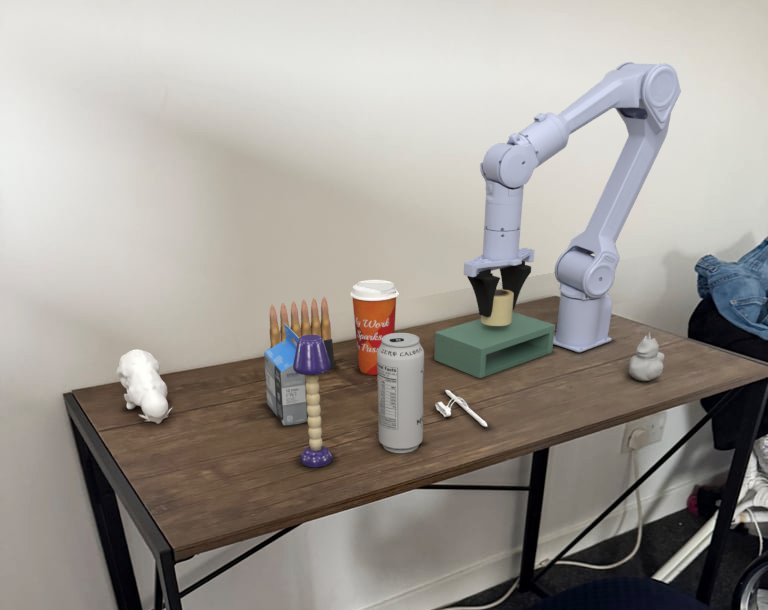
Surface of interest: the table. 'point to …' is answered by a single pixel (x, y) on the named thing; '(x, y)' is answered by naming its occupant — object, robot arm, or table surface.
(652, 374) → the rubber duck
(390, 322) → the paper cup
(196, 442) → the table surface
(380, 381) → the energy drink can
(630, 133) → the robot arm
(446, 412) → the picture light
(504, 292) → the tape roll
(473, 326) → the desk shelf
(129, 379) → the white animal figurine
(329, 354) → the ammunition clip
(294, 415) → the label tape box
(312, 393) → the toy lamp
